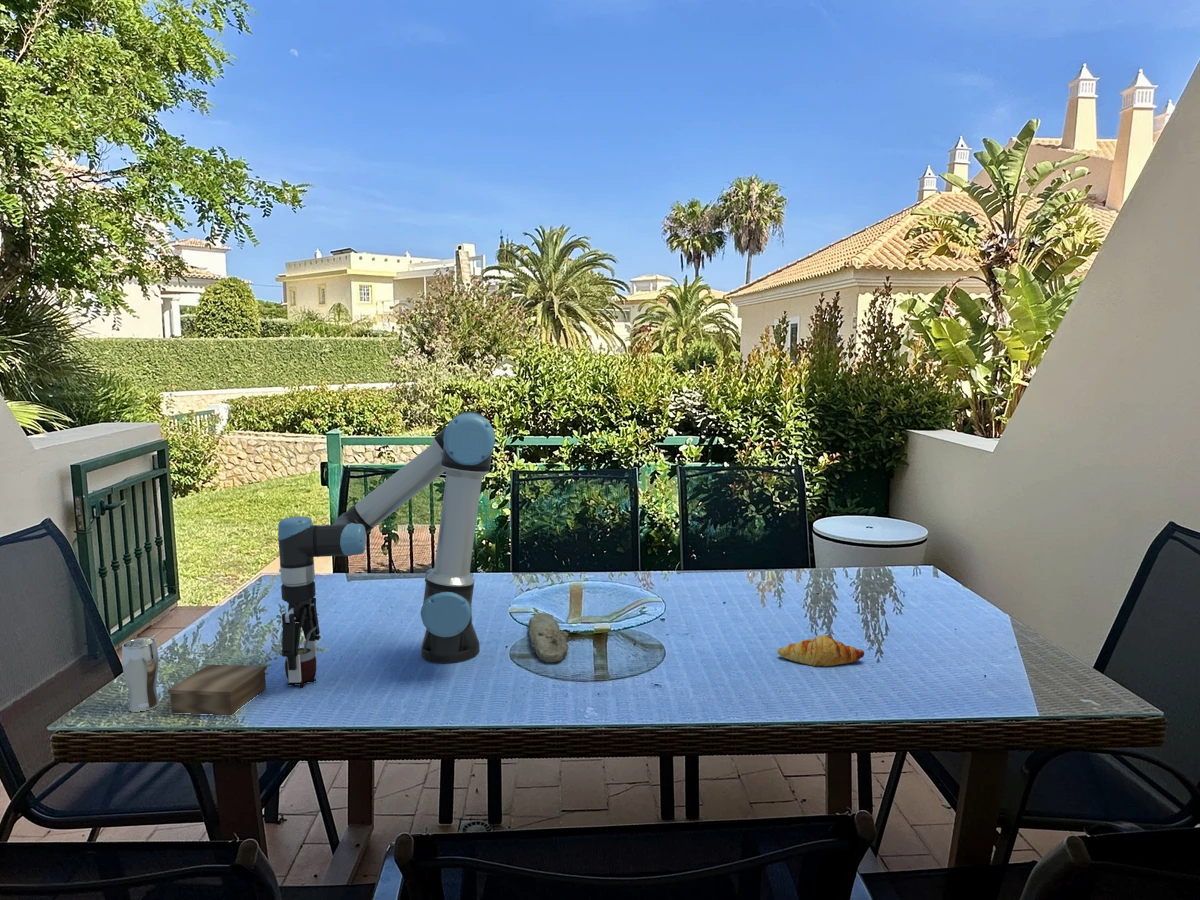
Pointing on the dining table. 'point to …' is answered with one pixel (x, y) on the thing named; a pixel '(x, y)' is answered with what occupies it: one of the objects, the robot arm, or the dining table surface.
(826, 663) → the croissant
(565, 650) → the elongated rock
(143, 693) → the beer glass
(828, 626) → the dining table surface
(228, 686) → the walnut box
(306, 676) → the mate gourd
